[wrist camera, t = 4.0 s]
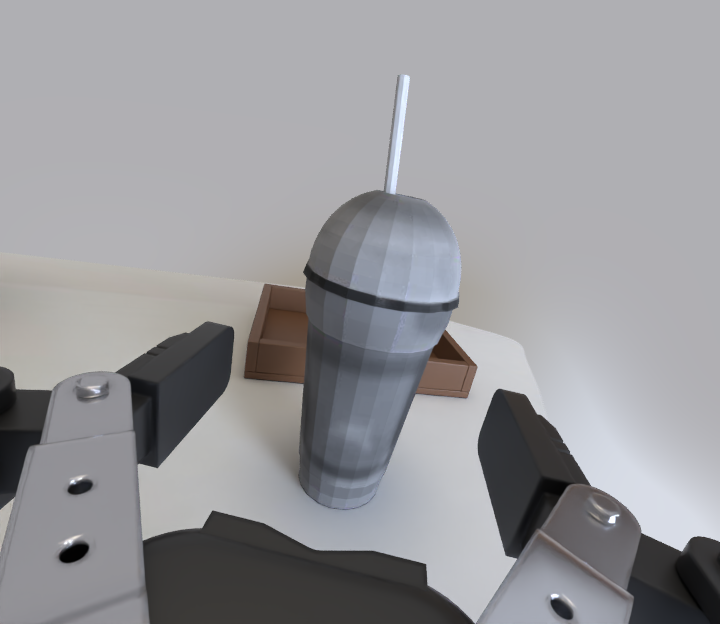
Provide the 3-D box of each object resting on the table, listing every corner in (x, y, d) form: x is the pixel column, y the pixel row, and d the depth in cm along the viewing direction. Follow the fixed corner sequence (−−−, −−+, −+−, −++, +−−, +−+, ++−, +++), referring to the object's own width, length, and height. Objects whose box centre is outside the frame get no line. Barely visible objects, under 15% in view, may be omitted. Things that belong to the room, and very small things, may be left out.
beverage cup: (335, 563, 17) (465, 27, 10) (246, 463, 21) (296, 44, 14) (426, 488, 22) (551, 104, 15) (340, 420, 26) (408, 99, 20)
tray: (243, 378, 29) (247, 341, 28) (261, 309, 42) (264, 283, 41) (467, 398, 33) (478, 366, 32) (418, 329, 46) (424, 306, 45)
